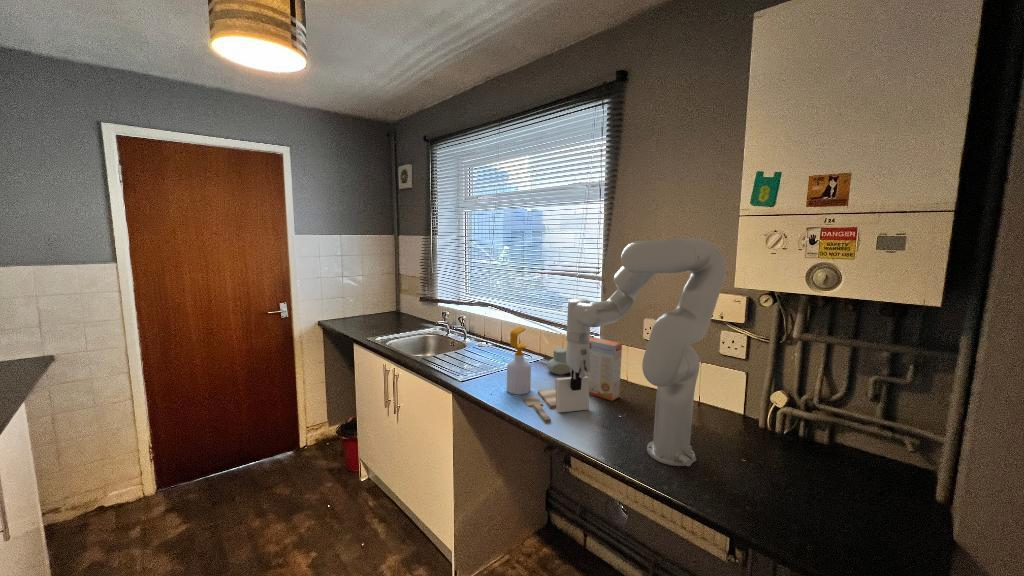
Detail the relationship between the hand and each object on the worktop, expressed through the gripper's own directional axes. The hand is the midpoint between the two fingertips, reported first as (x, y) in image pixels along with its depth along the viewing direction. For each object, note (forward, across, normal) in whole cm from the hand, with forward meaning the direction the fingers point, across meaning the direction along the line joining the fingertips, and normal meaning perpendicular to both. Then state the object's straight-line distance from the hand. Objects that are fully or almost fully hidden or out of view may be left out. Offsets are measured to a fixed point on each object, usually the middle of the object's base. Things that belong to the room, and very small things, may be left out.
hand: (575, 389), depth 143 cm
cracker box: (+9, +13, -16) cm, 22 cm away
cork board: (+8, +12, 0) cm, 15 cm away
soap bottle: (+9, +23, +13) cm, 28 cm away
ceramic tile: (+8, +2, 0) cm, 8 cm away
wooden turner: (+9, +5, +11) cm, 15 cm away
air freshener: (+9, +39, -10) cm, 41 cm away
